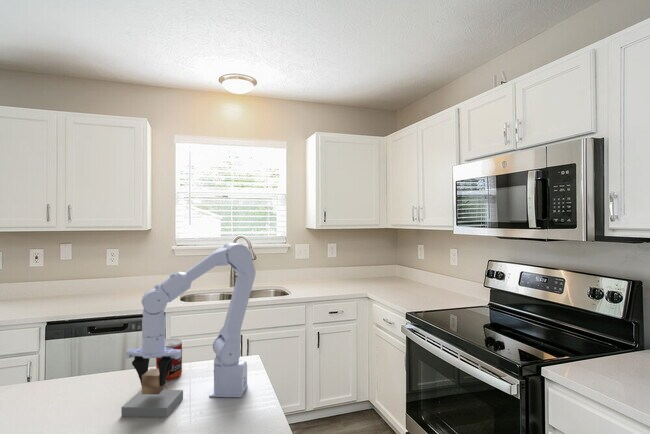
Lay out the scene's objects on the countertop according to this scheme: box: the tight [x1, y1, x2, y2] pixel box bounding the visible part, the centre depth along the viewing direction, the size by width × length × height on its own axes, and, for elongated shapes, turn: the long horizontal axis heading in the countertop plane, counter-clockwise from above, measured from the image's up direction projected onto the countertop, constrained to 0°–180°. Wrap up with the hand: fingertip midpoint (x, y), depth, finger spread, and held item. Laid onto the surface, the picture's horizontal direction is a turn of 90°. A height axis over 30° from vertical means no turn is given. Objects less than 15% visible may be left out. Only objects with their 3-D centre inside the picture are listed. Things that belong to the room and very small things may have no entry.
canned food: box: [155, 338, 183, 381], centre depth 121 cm, size 8×8×11 cm
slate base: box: [121, 389, 184, 419], centre depth 101 cm, size 12×10×2 cm
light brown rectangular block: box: [141, 368, 167, 395], centre depth 101 cm, size 4×4×5 cm
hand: (153, 384), depth 101 cm, fingers closed on light brown rectangular block, 4 cm apart
